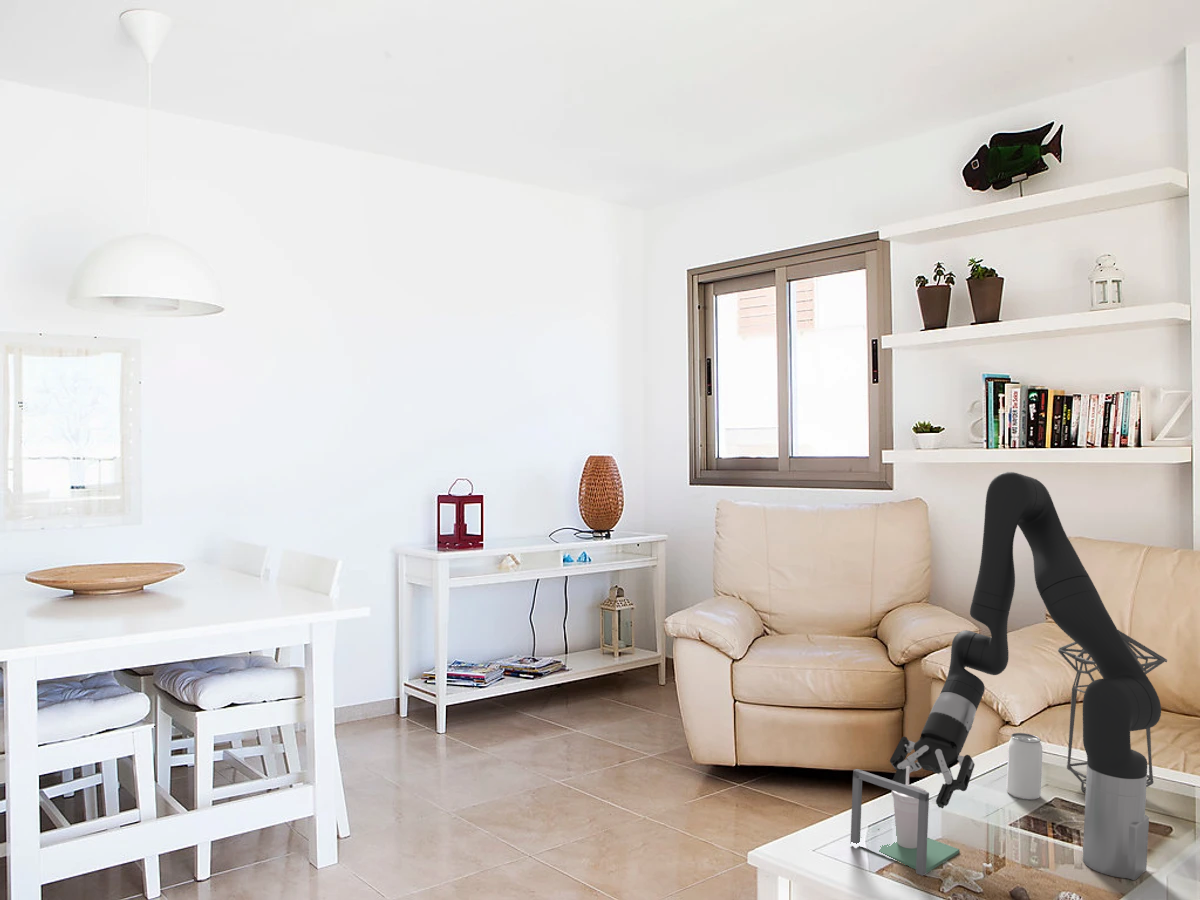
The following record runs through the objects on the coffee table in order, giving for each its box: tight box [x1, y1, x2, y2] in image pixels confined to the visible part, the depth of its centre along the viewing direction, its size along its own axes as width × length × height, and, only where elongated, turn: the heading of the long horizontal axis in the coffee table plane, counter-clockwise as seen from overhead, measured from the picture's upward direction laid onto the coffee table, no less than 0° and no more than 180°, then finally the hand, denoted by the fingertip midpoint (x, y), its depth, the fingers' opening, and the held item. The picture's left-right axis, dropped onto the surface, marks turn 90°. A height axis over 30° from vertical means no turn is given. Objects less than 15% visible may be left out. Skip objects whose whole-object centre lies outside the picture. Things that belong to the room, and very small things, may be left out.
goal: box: [850, 768, 960, 877], centre depth 171 cm, size 14×13×14 cm
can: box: [1006, 732, 1043, 801], centre depth 198 cm, size 6×6×12 cm
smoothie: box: [891, 766, 928, 849], centre depth 172 cm, size 6×6×14 cm
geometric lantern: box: [1057, 629, 1168, 794], centre depth 199 cm, size 16×16×35 cm
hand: (917, 798), depth 173 cm, fingers open, 8 cm apart
